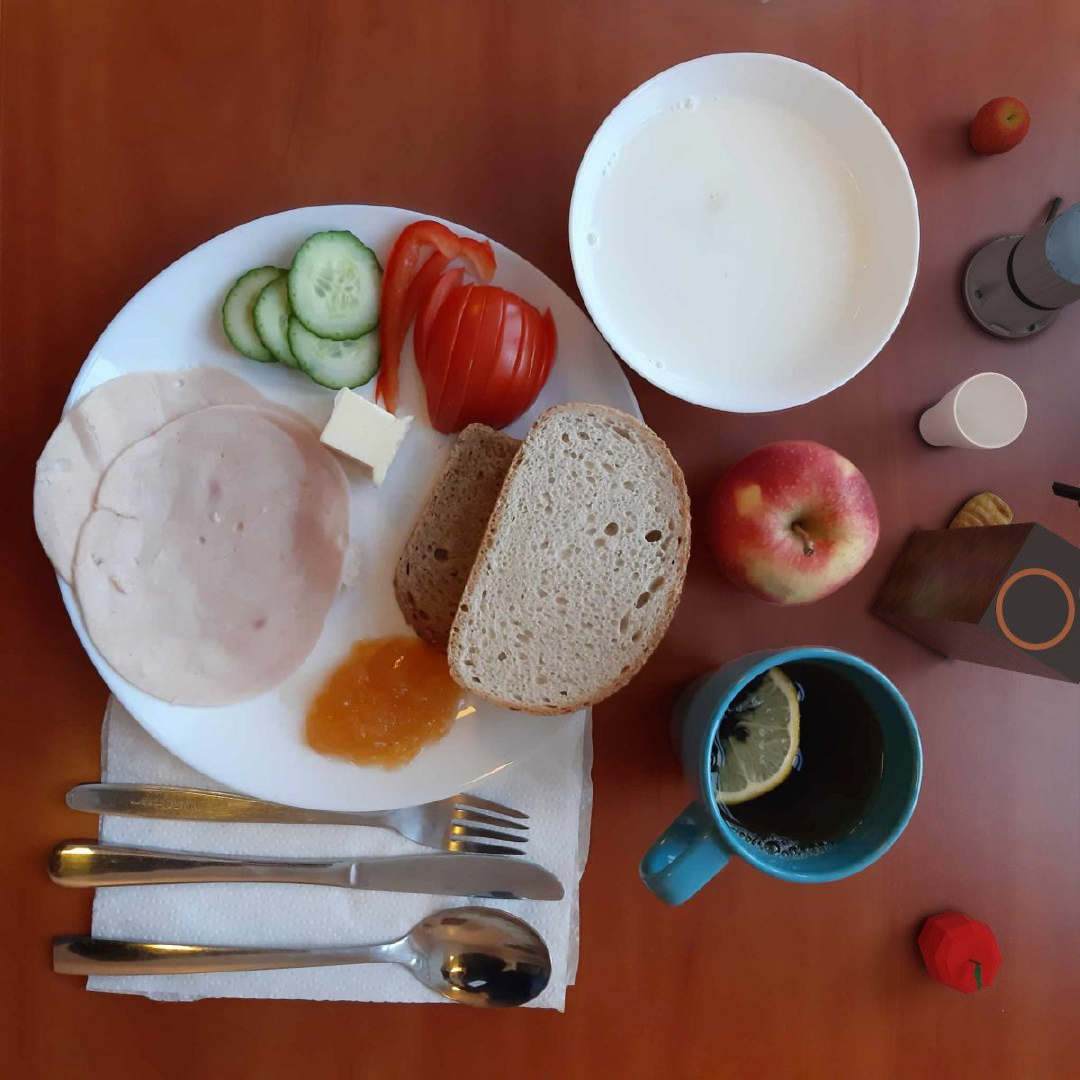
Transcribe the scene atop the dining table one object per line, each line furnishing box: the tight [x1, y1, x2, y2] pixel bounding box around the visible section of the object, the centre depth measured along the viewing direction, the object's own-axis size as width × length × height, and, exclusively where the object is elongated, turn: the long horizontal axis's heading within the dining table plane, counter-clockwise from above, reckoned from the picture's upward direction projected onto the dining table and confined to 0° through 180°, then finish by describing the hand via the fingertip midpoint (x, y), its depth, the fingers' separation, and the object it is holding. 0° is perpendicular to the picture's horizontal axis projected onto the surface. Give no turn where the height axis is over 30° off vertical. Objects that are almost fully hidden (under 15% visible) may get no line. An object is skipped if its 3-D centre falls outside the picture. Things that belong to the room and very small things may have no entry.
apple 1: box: [917, 909, 1003, 995], centre depth 122 cm, size 11×11×10 cm
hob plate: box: [979, 521, 1080, 686], centre depth 101 cm, size 14×14×1 cm
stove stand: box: [871, 521, 1077, 685], centre depth 115 cm, size 14×14×28 cm
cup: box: [918, 371, 1028, 451], centre depth 123 cm, size 10×10×14 cm
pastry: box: [948, 491, 1013, 529], centre depth 127 cm, size 9×7×4 cm
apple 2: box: [969, 95, 1031, 156], centre depth 127 cm, size 8×8×8 cm
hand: (1076, 442), depth 112 cm, fingers open, 13 cm apart
